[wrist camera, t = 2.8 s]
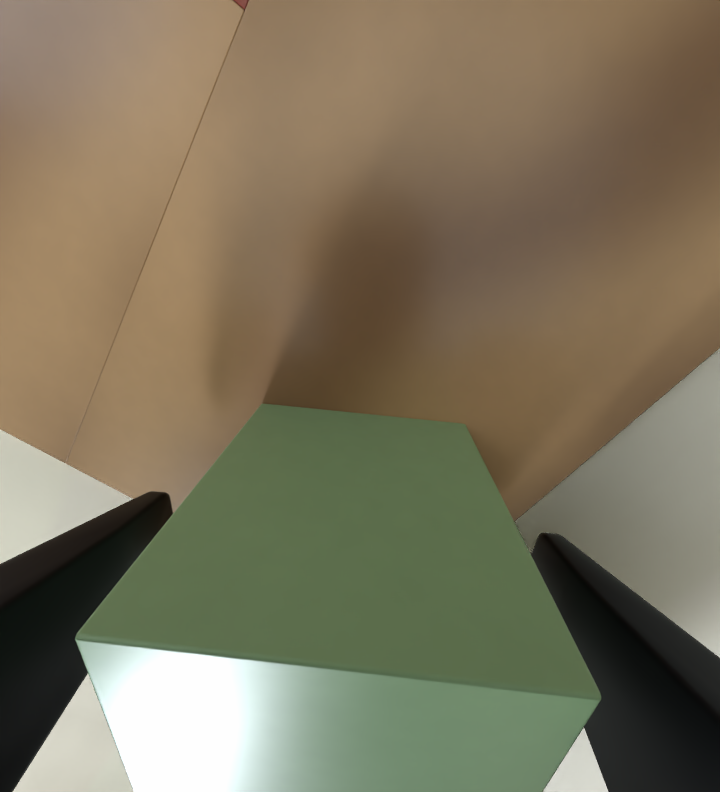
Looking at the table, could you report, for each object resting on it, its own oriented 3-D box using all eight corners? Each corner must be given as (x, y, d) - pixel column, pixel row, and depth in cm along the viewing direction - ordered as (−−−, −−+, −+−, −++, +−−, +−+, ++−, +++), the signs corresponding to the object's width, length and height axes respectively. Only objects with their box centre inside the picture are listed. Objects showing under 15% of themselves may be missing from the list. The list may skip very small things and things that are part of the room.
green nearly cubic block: (465, 422, 8) (604, 698, 3) (431, 570, 10) (483, 889, 5) (261, 402, 8) (71, 637, 3) (266, 553, 10) (153, 847, 5)
